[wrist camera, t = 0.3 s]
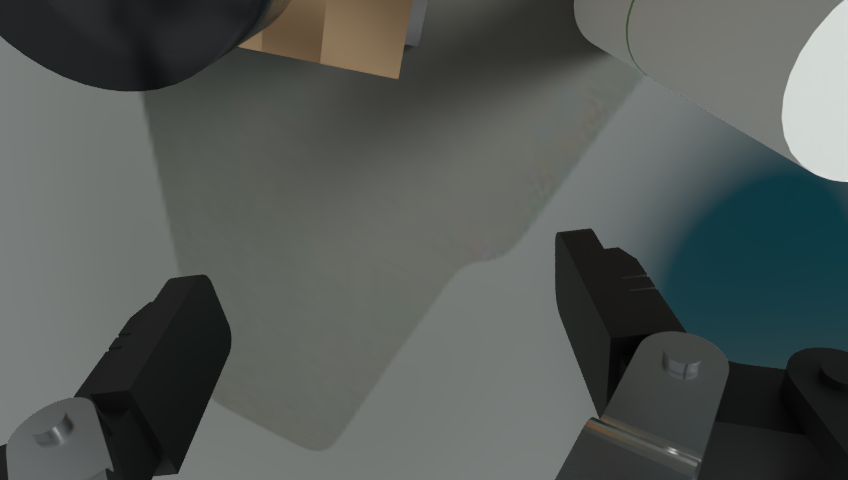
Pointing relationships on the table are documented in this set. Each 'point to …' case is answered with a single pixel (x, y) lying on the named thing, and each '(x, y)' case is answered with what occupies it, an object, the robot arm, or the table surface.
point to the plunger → (132, 36)
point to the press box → (345, 33)
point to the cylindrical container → (743, 65)
